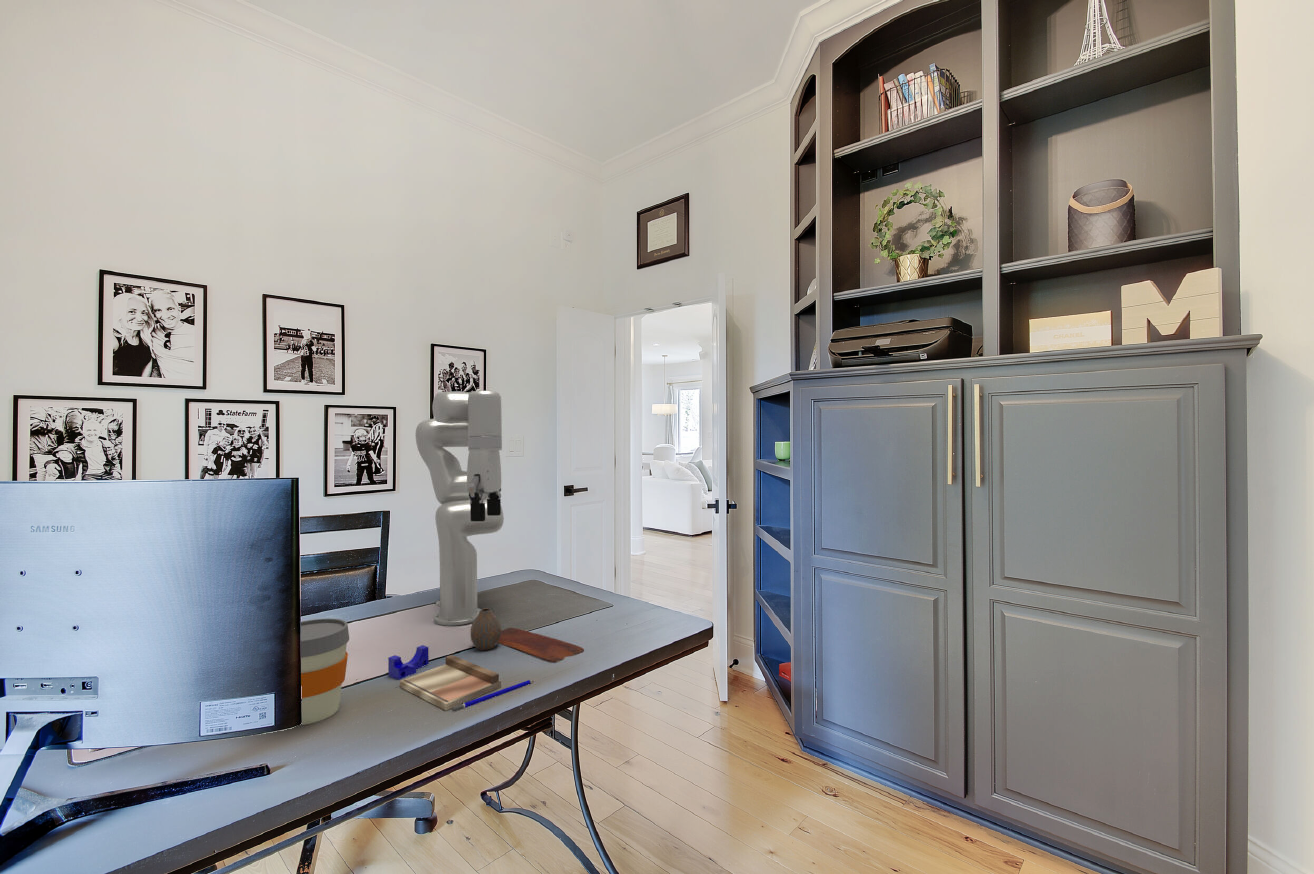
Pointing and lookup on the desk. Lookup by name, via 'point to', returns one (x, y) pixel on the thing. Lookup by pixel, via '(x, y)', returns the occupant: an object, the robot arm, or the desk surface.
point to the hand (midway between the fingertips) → (486, 518)
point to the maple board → (452, 683)
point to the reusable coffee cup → (322, 667)
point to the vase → (485, 630)
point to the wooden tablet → (538, 645)
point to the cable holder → (408, 663)
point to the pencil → (491, 695)
